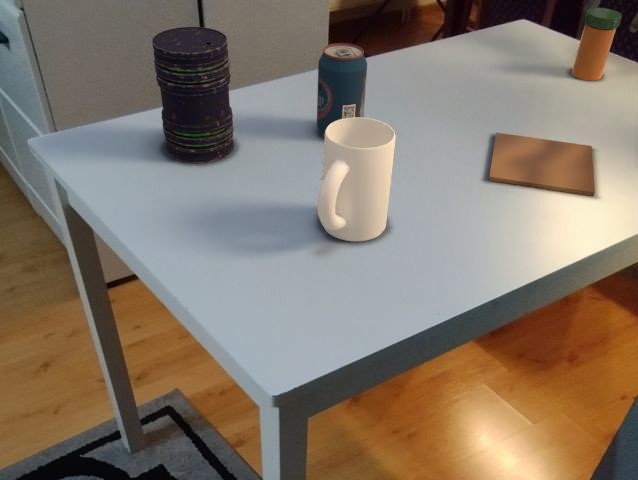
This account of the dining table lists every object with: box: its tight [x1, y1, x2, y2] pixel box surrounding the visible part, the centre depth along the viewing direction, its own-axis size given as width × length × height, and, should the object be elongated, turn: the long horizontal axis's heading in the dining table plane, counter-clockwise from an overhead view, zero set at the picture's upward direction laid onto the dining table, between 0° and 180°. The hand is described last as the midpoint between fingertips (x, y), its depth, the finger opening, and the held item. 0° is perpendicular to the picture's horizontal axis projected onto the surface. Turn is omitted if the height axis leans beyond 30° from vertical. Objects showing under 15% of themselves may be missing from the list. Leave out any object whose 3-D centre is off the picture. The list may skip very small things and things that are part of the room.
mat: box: [487, 132, 596, 197], centre depth 97 cm, size 14×14×1 cm
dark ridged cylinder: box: [151, 26, 235, 164], centre depth 93 cm, size 10×10×15 cm
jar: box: [571, 23, 617, 81], centre depth 119 cm, size 5×5×10 cm
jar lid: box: [583, 7, 623, 29], centre depth 116 cm, size 6×6×2 cm
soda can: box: [316, 42, 368, 137], centre depth 99 cm, size 7×7×12 cm
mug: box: [317, 117, 396, 242], centre depth 79 cm, size 8×12×12 cm
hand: (608, 23), depth 119 cm, fingers open, 8 cm apart
